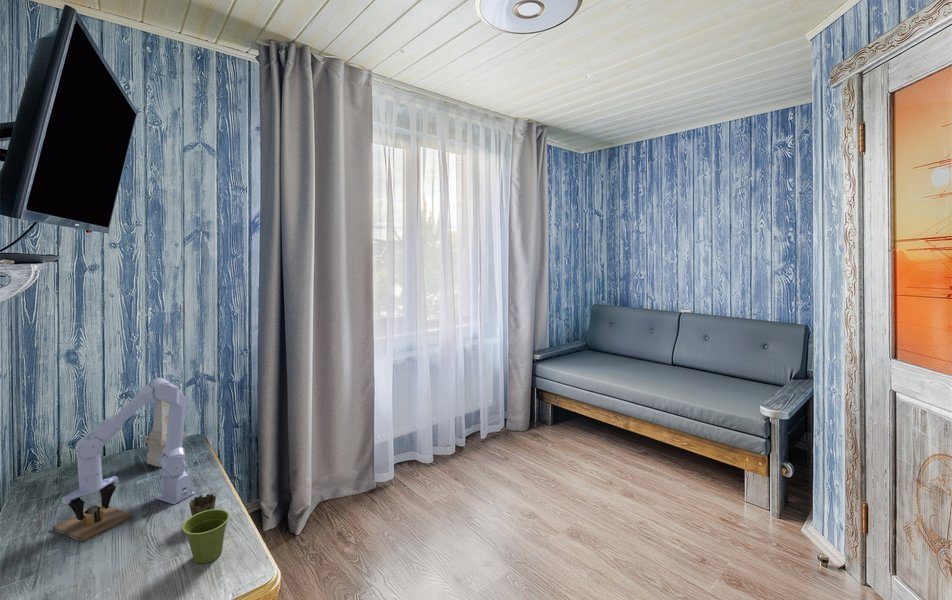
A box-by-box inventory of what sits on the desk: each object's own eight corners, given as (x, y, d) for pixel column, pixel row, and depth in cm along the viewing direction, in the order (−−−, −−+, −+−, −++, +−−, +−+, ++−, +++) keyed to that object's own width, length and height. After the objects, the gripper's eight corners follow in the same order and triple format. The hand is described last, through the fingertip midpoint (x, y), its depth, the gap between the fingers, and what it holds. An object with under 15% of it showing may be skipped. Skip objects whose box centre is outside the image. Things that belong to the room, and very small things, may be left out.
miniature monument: (162, 468, 180) (158, 398, 176) (145, 463, 183) (141, 394, 180) (186, 458, 189) (183, 390, 186) (170, 453, 193) (167, 387, 190)
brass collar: (78, 523, 142) (77, 512, 142) (97, 513, 147) (97, 503, 147) (88, 527, 140) (88, 516, 140) (108, 517, 145) (107, 507, 145)
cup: (188, 531, 141) (187, 508, 140) (192, 518, 148) (191, 496, 147) (214, 526, 144) (214, 503, 143) (218, 513, 151) (217, 491, 150)
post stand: (133, 517, 147) (132, 501, 147) (83, 542, 134) (82, 525, 134) (102, 506, 153) (101, 491, 152) (52, 529, 140) (51, 513, 139)
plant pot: (174, 563, 127) (172, 527, 125) (212, 539, 138) (210, 505, 136) (203, 575, 122) (201, 537, 121) (239, 549, 133) (238, 514, 132)
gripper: (107, 461, 150) (110, 499, 152) (55, 482, 137) (58, 522, 138) (121, 465, 148) (123, 503, 149) (68, 486, 134) (72, 528, 136)
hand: (93, 513), depth 143 cm, fingers open, 6 cm apart
